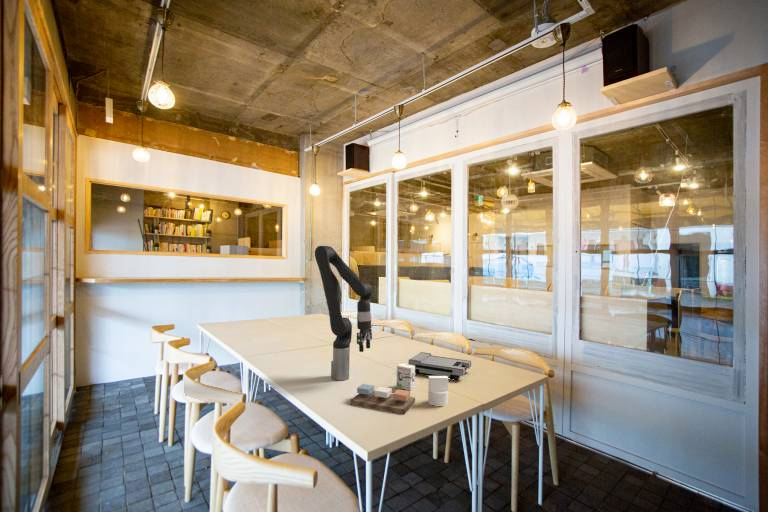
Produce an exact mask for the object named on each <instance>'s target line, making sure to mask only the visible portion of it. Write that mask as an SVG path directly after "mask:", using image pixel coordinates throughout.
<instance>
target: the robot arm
mask: <svg viewBox="0 0 768 512" xmlns="http://www.w3.org/2000/svg"><path fill="white" fill-rule="evenodd" d="M314 258H315V261H316V264H317V267H318V269H319V270H318V271H319V274H320V278H321V282H322V286H323V292H324V296H325V301H326V306H327V310H328V315H329V324H330V329H331V332H332V334H333V335H335V336H336V337H335V340H334V341H333V343H332V360H331V361H330V365H331V366H330V378H331V380H332V379H333V380H335V381H346V380H349V379H350V353H351V352H350V351H351V349H350V347H351V342H352V335H353V334H352V333H353V331H352V329H353V324H352V322H351V320H350V319H349V318H348V317H343V315H342V312H341V311H342V310H341V304H342V297H343V295H342V294H343V293H342V289H341V284H340V282H339V281H340V280H338V278H337V276H336V274H335V273H334V272H333V270H332V267H331V266H333V267H334V268H335V269H336V271H337V272H338V274H339V276H340V278H341V279H342V280H344V281H345V282H346V284H348V286H349V287H350V288H351V290H352V291H353V293H354V294H355V295H357V296H358V297H360V298H359V300H358V301H357V303H356V305H357V306H356V309H357V313H356V320H357V321H356V322H357V323H356V325H357V330H359V332H356V345H358V349H359V350H358V352H360V353H363V352H364V351H365V349H364V343H365V348H366V349H370V348H371V341H372V339H373V334H372V333H373V331H372V314H371V300H372V297H373V296H372V294H373V289H372V285H371V284H370V283H369V282H362V281H360V276H359V275H358V274H357V273H356V272H355V271H354V270H352V269H351V268H350V267H349V266H348V265H347V263H346V262H344V260H343V259H342V258H341V257H340V255H339V254H338V252H337V251H336V250H335V249H334V248H333V247H332V246H329V245H318V246H317V247H315V250H314Z"/></svg>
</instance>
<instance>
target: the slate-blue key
mask: <svg viewBox="0 0 768 512" xmlns="http://www.w3.org/2000/svg"><path fill="white" fill-rule="evenodd" d="M373 391H375V385H373V384H366V383H362V384H360V385H359V386H358V387H357V388H356V393H357V394H359V393H360V394H366V395H369V394H371V393H372V392H373Z"/></svg>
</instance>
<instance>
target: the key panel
mask: <svg viewBox="0 0 768 512" xmlns="http://www.w3.org/2000/svg"><path fill="white" fill-rule="evenodd" d="M393 394H394V393H392V394H391V395H390V396H389V397H388V398H384V397H378V396H375V390H374V391H373V392H372V393H371V394H369V395H366V394H360V393H357V394H356V395H354V397H352V398H351V399H350V405H352V406H358V407H363V408H369V409H374V410H379V411H385V412H389V413H390V412H391V413H396V414H400V415H401V414H402V415H405V414H406V413H407V412H408V411H409V410H410V409H411V407H412V406H413V405H414V404H415V403H416V397H412V396H410V397H409V399H408V400H407V401H401V400H395V399H393Z"/></svg>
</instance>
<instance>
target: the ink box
mask: <svg viewBox="0 0 768 512" xmlns="http://www.w3.org/2000/svg"><path fill="white" fill-rule="evenodd" d="M415 386H416V374H415V366H413V365H408V364H407V363H402V362H401V363H400V364H398V365H397V364H396V389H399V388H400V389H399V390H403V389H405V391H408V390H409V391H410V392H412V391H413V390H415V389H414V388H415ZM411 390H412V391H411Z"/></svg>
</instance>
